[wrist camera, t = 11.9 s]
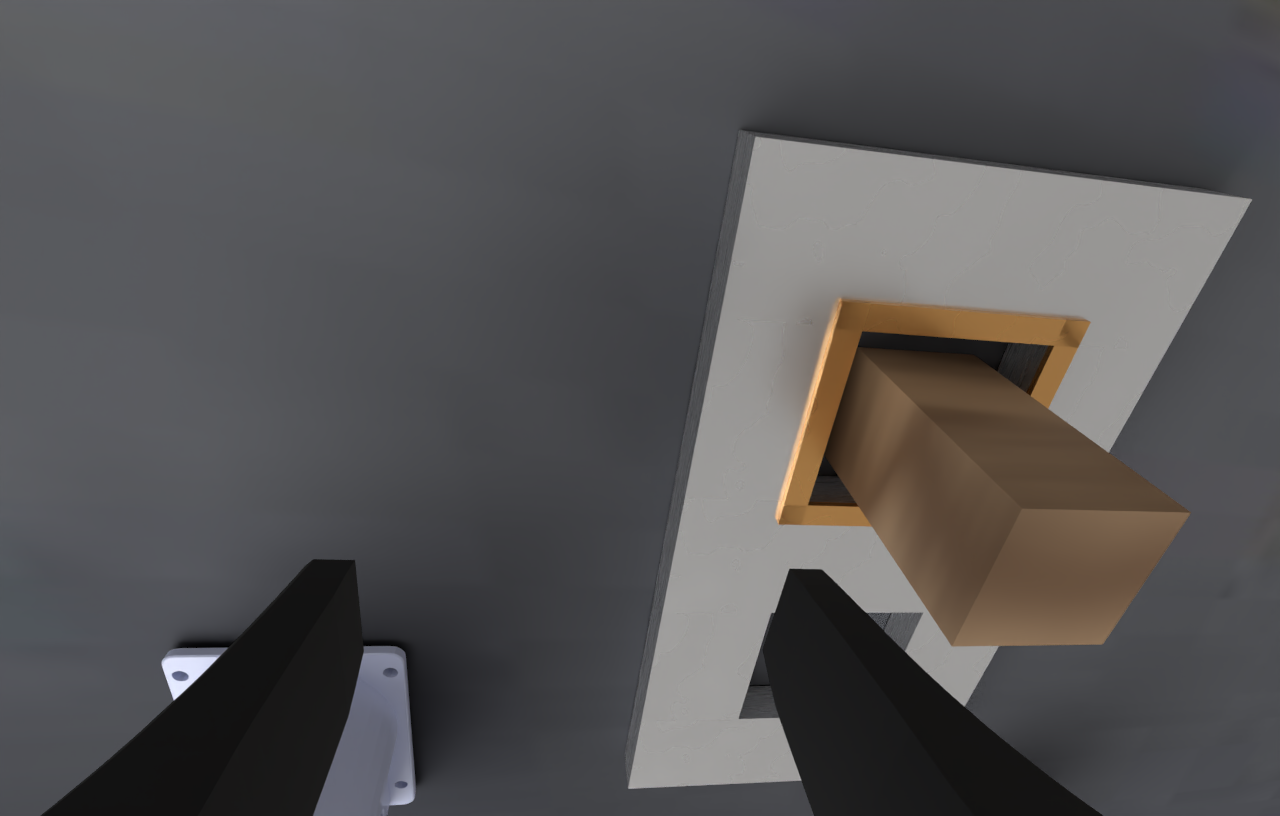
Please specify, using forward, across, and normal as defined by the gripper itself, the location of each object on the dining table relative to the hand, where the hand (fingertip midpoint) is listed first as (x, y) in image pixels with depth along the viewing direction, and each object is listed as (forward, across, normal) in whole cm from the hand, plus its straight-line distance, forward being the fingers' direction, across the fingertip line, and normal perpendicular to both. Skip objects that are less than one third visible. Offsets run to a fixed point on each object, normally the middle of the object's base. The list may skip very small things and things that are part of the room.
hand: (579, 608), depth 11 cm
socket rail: (+9, -11, +6) cm, 15 cm away
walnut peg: (+9, -11, 0) cm, 14 cm away
